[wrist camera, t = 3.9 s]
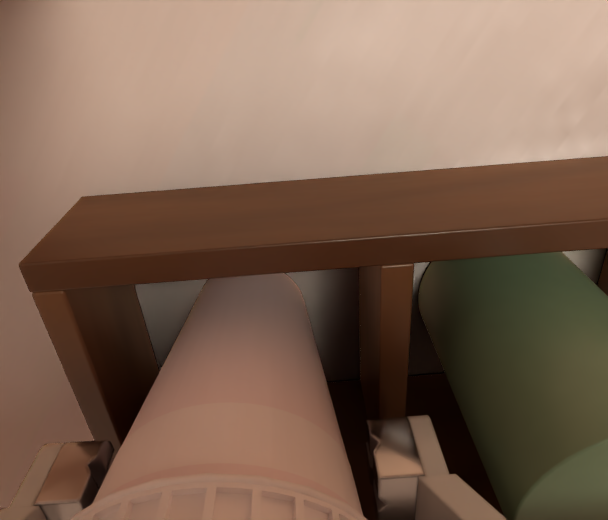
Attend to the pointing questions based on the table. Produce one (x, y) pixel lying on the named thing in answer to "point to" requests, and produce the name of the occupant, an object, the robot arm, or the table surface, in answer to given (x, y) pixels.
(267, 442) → the smoothie
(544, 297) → the spice tin
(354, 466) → the rack
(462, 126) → the table surface
